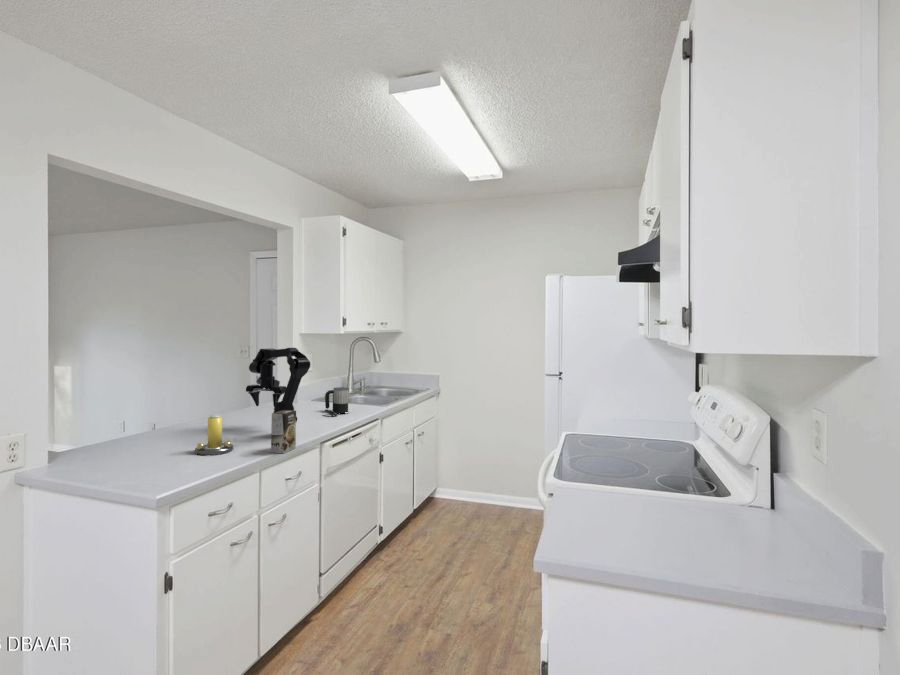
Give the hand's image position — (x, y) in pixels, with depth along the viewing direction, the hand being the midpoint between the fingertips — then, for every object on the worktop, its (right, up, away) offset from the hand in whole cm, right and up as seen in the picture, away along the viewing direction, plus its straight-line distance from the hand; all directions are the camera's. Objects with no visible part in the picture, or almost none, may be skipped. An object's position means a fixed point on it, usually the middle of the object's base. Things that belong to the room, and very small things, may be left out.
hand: (266, 406), depth 230 cm
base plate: (-7, -13, -35) cm, 38 cm away
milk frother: (+23, -12, +47) cm, 53 cm away
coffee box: (+20, -14, -32) cm, 40 cm away
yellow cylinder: (-7, -11, -35) cm, 38 cm away
